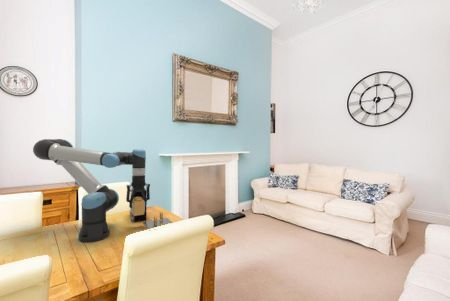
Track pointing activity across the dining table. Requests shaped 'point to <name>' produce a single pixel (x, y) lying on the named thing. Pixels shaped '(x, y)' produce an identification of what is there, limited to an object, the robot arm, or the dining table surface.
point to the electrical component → (143, 217)
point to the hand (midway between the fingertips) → (137, 212)
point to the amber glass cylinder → (155, 221)
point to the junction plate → (151, 223)
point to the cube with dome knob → (138, 206)
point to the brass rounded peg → (161, 216)
